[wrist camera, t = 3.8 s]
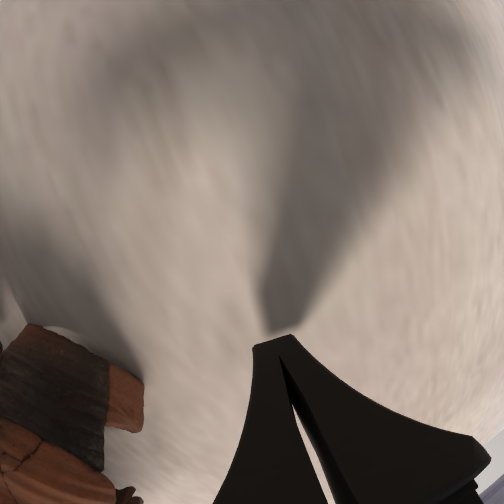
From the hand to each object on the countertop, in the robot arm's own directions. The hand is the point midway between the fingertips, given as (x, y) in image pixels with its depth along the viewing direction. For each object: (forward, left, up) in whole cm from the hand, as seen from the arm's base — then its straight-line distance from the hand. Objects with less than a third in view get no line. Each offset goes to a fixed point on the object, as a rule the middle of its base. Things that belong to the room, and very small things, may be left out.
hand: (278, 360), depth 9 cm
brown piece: (0, +11, -1) cm, 11 cm away
